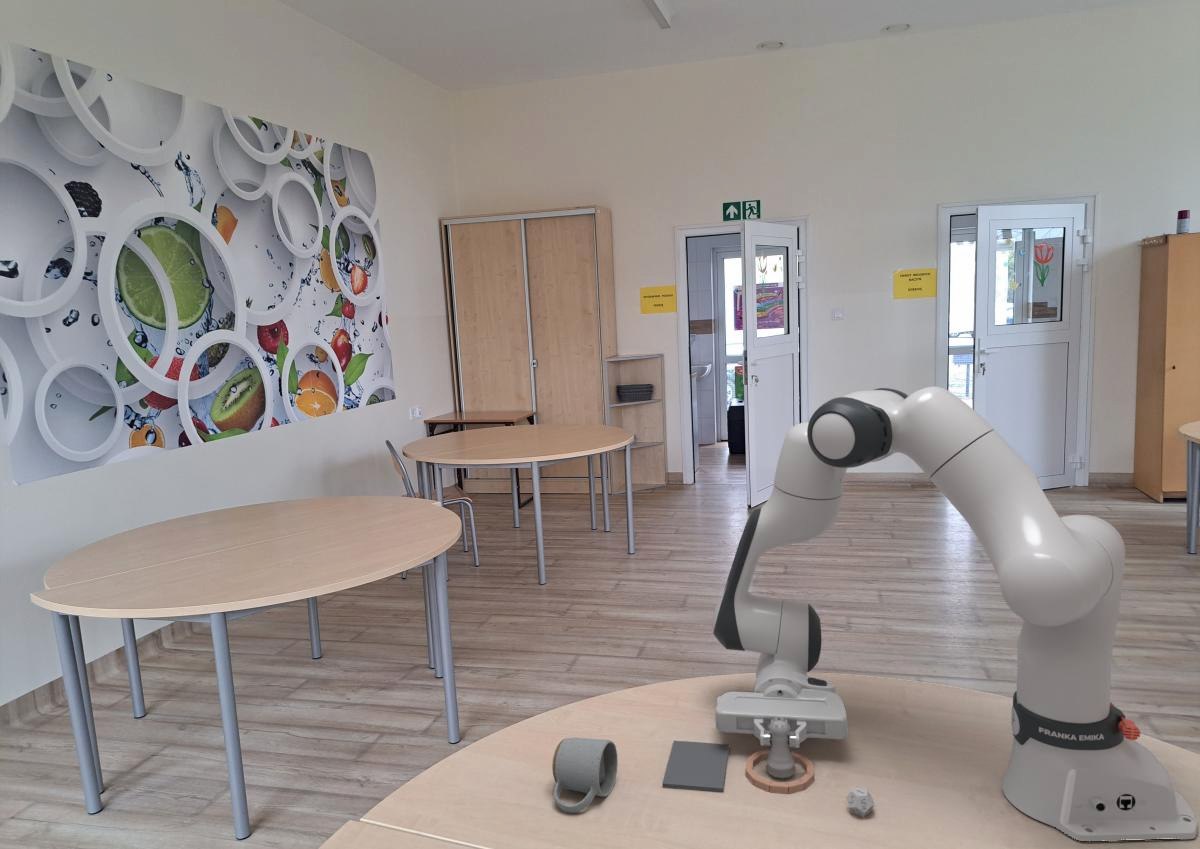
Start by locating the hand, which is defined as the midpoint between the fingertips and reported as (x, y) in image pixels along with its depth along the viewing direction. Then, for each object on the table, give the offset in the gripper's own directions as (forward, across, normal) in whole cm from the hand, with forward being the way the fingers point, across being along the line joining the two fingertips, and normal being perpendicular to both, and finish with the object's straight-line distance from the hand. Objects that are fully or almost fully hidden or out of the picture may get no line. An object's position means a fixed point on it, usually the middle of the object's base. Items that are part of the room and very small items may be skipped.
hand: (779, 742), depth 119 cm
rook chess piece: (-1, 0, +5) cm, 5 cm away
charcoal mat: (-1, -13, +6) cm, 14 cm away
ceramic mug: (+8, -28, +6) cm, 30 cm away
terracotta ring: (-1, 0, +6) cm, 6 cm away
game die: (+7, +11, +6) cm, 14 cm away
